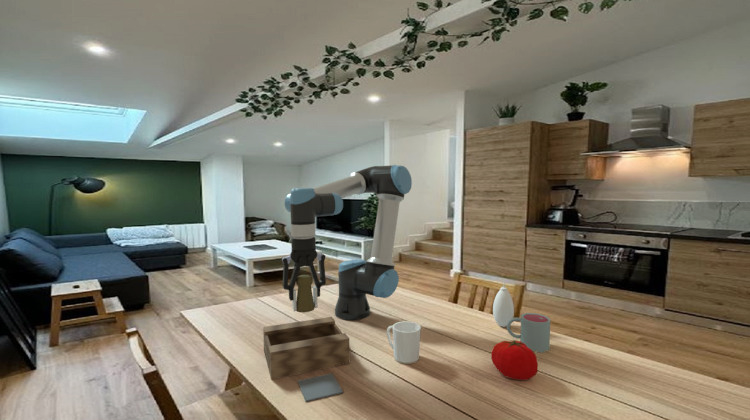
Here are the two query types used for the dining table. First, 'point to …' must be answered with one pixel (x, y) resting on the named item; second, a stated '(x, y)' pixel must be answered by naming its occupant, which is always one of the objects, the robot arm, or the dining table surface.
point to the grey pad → (319, 387)
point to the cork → (304, 294)
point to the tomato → (514, 360)
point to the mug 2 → (533, 331)
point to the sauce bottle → (503, 307)
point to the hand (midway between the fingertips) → (305, 308)
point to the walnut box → (304, 347)
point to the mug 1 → (405, 341)
